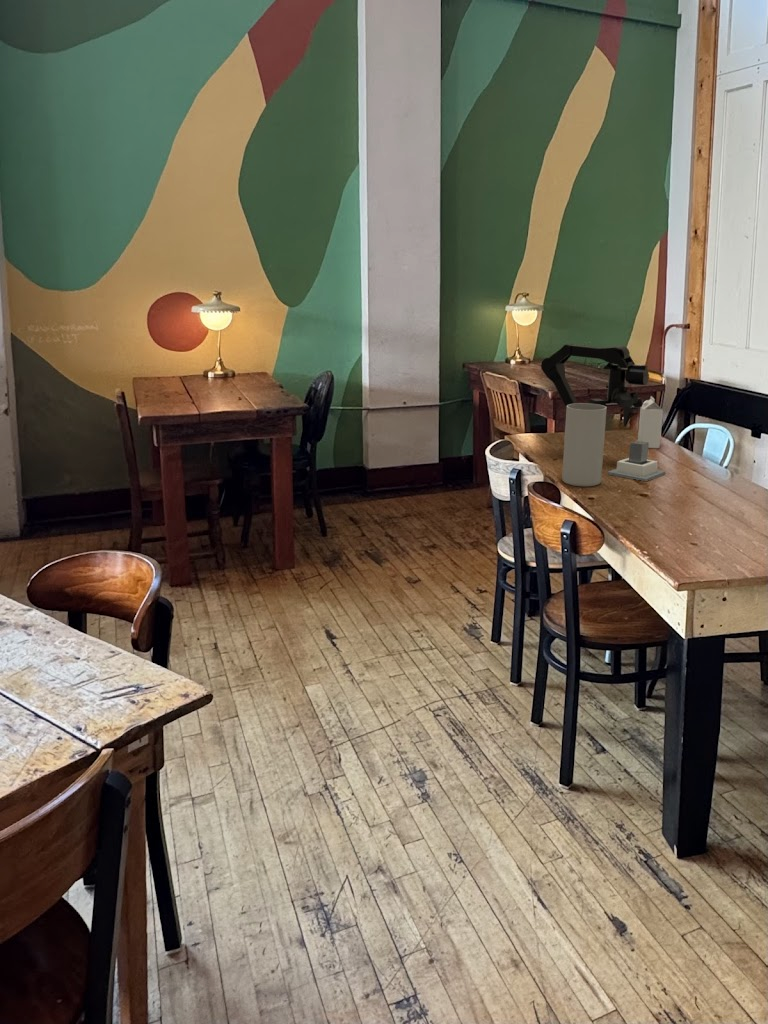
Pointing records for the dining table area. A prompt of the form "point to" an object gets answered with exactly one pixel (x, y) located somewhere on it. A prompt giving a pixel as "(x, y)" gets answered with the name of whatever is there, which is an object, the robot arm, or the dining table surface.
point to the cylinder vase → (584, 444)
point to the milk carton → (650, 423)
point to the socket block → (637, 470)
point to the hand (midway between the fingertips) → (613, 427)
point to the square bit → (638, 452)
